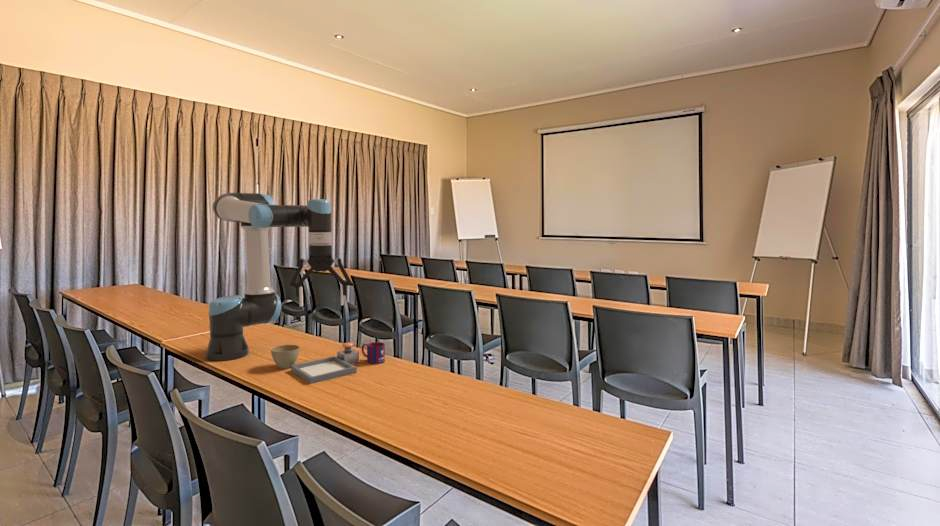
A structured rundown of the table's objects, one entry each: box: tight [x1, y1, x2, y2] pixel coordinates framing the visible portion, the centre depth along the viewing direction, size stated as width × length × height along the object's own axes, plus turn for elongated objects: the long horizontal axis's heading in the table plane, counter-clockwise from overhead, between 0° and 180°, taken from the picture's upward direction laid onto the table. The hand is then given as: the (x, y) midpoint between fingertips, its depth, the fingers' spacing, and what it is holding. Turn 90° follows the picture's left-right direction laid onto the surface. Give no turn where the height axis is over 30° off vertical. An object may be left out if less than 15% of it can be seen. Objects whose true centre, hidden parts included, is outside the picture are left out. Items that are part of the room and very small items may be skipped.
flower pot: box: [270, 344, 300, 370], centre depth 172 cm, size 10×10×7 cm
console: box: [336, 348, 360, 365], centre depth 178 cm, size 6×6×4 cm
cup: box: [361, 341, 386, 365], centre depth 180 cm, size 7×10×7 cm
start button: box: [341, 342, 354, 353], centre depth 178 cm, size 4×4×3 cm
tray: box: [290, 355, 358, 385], centre depth 167 cm, size 17×17×2 cm
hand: (322, 305), depth 161 cm, fingers open, 13 cm apart
